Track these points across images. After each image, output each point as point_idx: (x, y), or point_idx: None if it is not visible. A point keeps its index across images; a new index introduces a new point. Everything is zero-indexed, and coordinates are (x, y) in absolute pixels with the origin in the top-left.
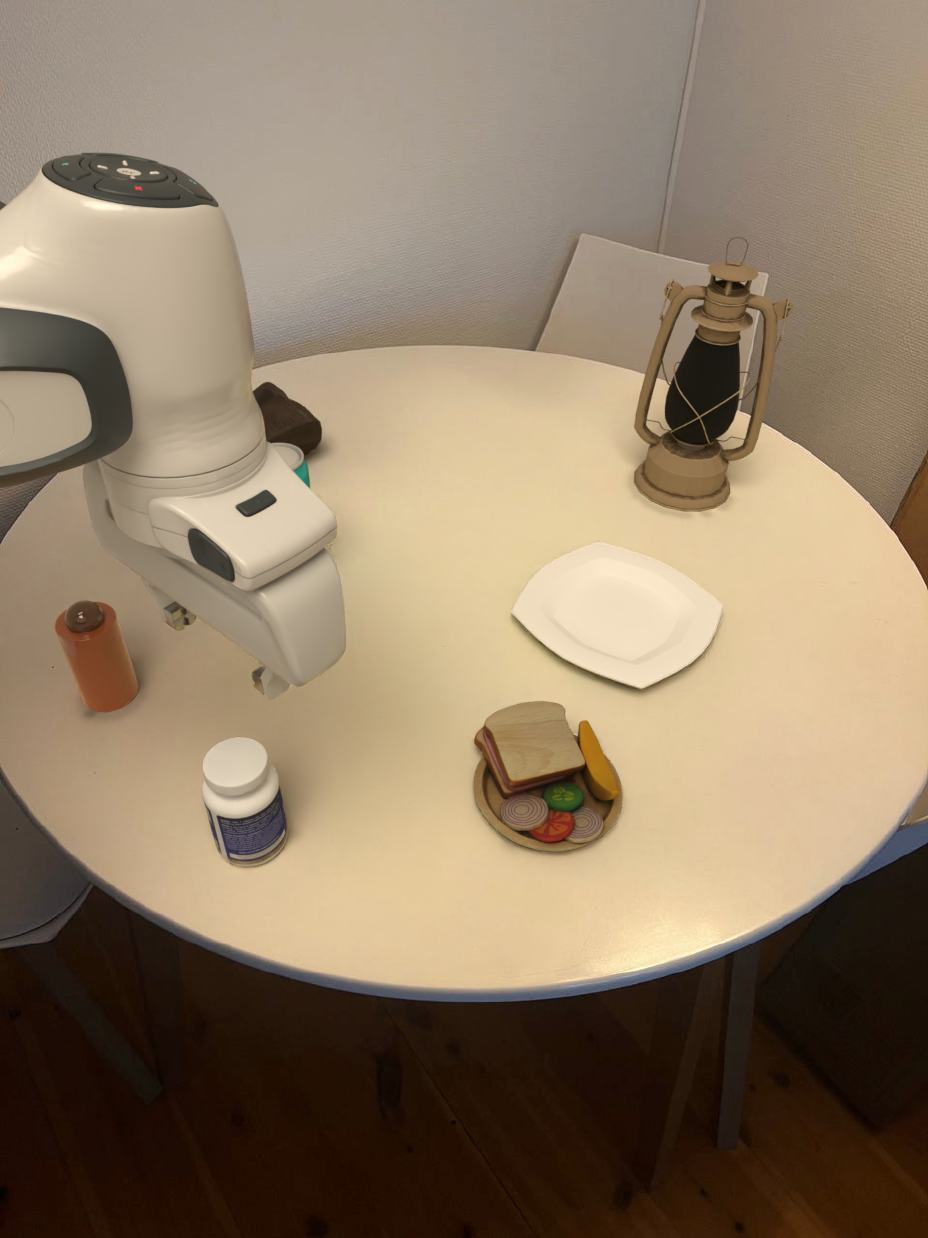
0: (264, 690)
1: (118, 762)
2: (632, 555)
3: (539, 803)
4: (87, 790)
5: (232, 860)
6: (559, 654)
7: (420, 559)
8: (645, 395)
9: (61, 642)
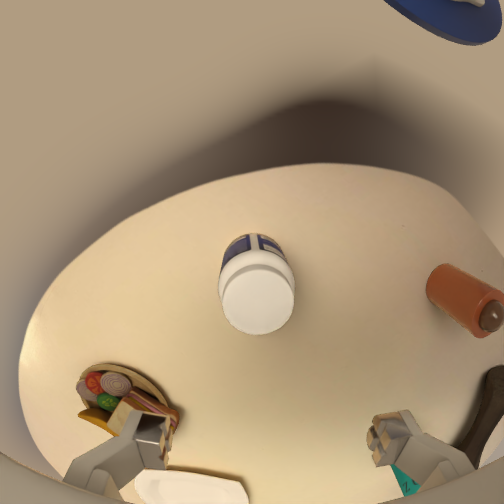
0: (134, 421)
1: (396, 243)
2: None
3: (113, 392)
4: (395, 210)
5: (244, 235)
6: (189, 473)
7: (325, 475)
8: None
9: (491, 286)
